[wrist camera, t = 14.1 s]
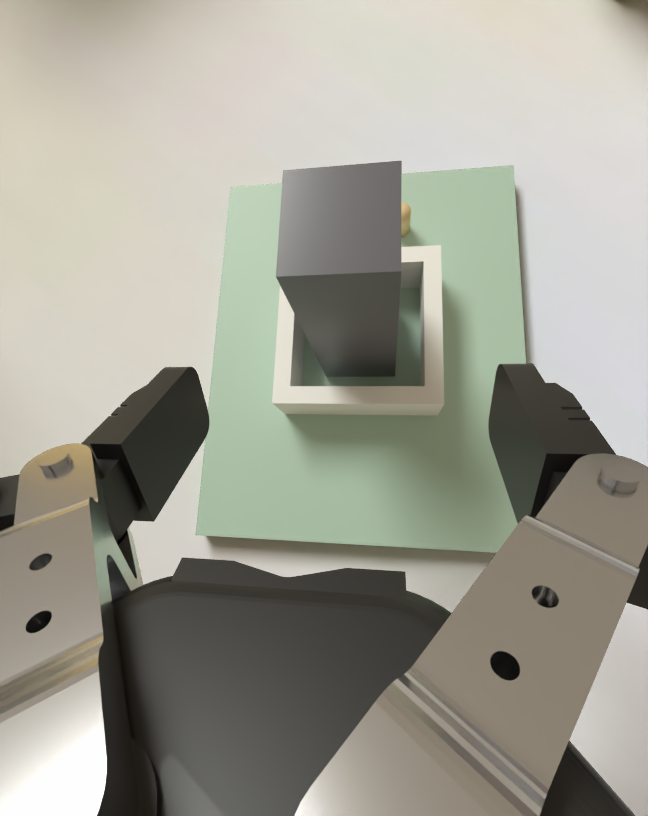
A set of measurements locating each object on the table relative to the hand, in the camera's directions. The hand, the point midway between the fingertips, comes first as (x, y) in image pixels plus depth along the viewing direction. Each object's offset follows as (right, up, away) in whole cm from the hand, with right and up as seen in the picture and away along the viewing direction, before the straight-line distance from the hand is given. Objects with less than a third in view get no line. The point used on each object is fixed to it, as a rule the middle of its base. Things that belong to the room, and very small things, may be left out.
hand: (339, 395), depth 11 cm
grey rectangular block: (+2, +3, +10) cm, 11 cm away
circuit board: (+2, +3, +11) cm, 12 cm away
